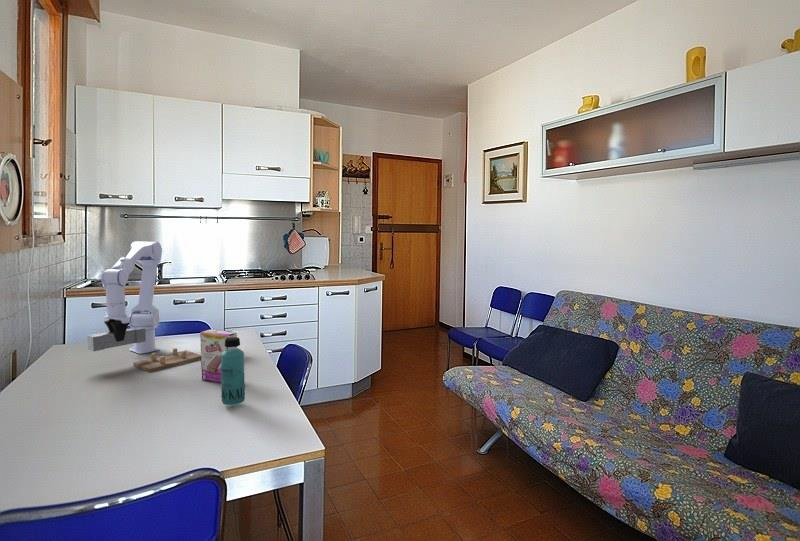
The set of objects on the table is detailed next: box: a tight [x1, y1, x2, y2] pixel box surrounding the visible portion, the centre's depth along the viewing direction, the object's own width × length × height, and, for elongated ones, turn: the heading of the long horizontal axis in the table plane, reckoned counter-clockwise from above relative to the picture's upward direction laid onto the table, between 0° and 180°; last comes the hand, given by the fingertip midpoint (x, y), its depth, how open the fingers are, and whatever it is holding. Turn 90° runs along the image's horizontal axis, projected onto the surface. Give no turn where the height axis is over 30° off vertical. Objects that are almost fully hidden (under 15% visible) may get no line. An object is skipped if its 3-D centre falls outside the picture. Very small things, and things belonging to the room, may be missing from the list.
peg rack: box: [132, 347, 201, 373], centre depth 172 cm, size 12×20×4 cm, turn 145°
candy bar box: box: [199, 329, 238, 384], centre depth 153 cm, size 11×5×16 cm, turn 71°
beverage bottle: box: [220, 336, 246, 406], centre depth 132 cm, size 6×7×20 cm
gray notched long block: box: [86, 327, 146, 352], centre depth 167 cm, size 17×4×5 cm, turn 144°
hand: (118, 340), depth 167 cm, fingers closed on gray notched long block, 3 cm apart
